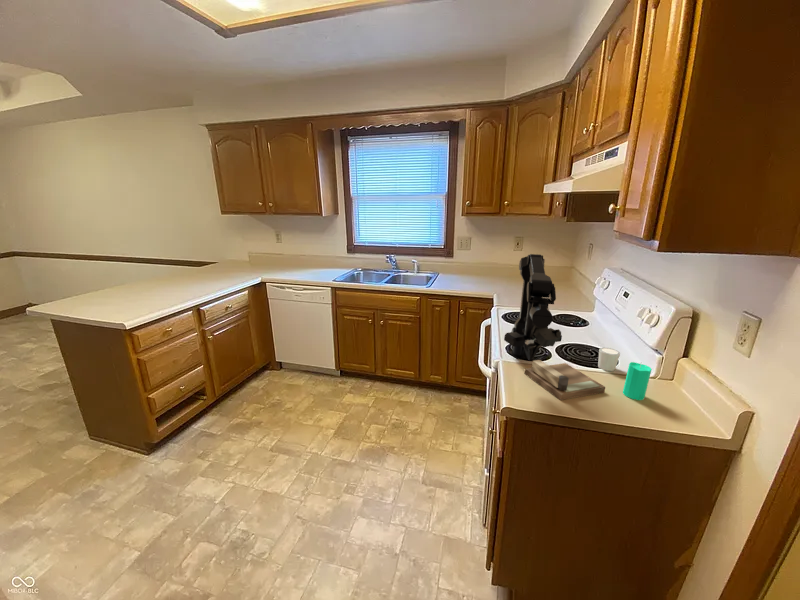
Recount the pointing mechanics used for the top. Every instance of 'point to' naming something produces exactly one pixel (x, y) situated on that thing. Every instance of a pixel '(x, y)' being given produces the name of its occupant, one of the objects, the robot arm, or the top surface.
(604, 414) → the top surface
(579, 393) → the stool seat
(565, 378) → the hinged leg
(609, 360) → the white mug
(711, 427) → the top surface
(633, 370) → the candle
